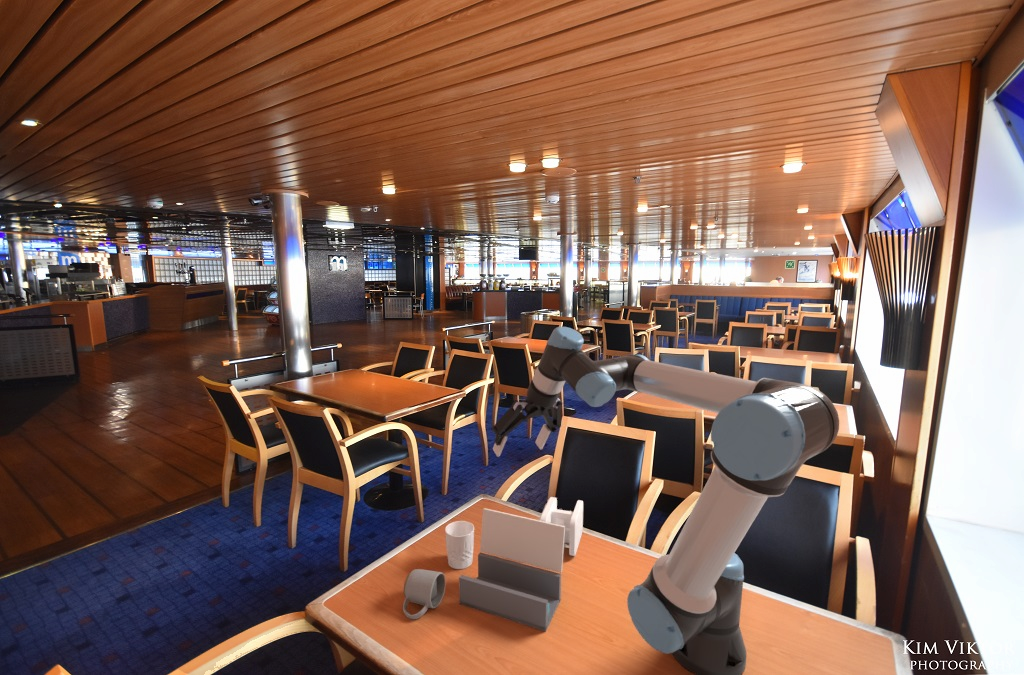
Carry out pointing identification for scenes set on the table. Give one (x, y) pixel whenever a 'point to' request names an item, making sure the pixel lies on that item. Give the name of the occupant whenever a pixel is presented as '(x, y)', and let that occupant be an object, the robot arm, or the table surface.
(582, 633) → the table surface
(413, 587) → the ceramic mug
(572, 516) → the cable organizer
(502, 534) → the panel
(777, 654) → the table surface
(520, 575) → the cable duct
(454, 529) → the white cup
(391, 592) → the table surface
